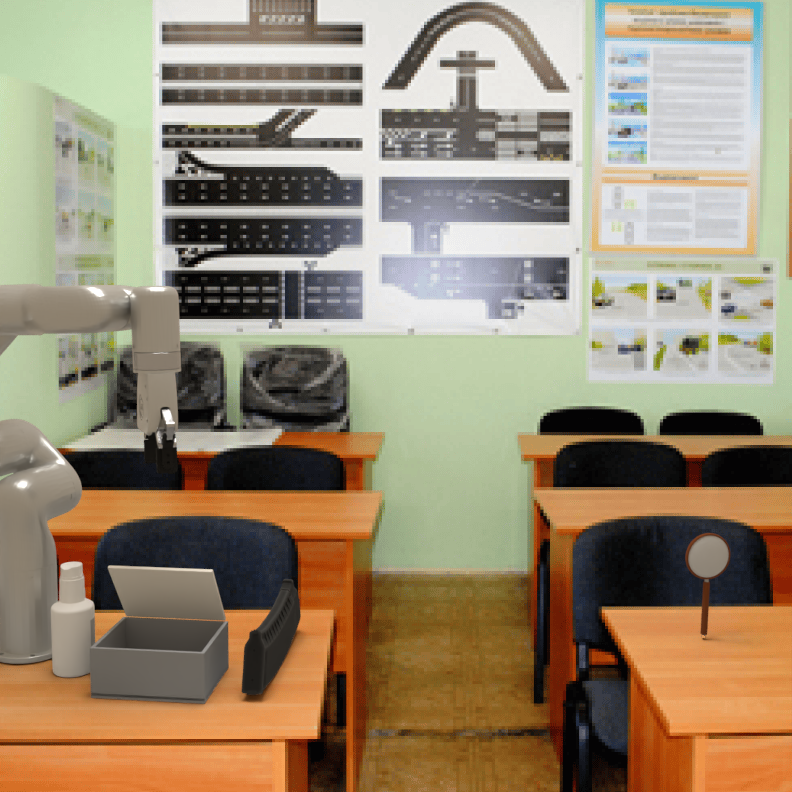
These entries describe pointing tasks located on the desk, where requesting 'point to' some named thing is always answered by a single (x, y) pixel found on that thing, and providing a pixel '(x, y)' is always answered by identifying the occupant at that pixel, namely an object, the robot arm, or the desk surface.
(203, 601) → the carton flap
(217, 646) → the carton
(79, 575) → the spray bottle
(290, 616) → the magazine
